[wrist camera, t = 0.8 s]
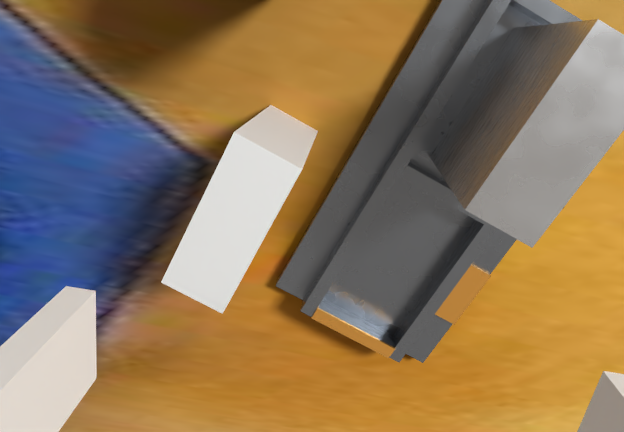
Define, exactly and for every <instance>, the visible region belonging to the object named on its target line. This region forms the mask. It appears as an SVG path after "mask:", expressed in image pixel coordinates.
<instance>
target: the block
mask: <svg viewBox="0 0 624 432" xmlns="http://www.w3.org/2000/svg"><path fill="white" fill-rule="evenodd" d="M317 132H318V131H317V130H315V129H313V128H311V127H310V126H308V125H306V124H304V123H302V122H301V121H299V120H297V119H295V118H294V117H292V116H290V115H288V114H286V113H285V112H283V111H281V110H279V109H277V108H276V107H274V106H272V105H270V106H269V107H267V108H266V109H264V110H263V111H262V112H260V113H259V114H258V115H256V116H255V117H254V118H252V119H251V120H250V121H248V122H247V123H245V124H244V125H243V126H241V127H240V128H239V129H237V130H236V131H235V132H234V133H233V135H232V137H231V139H230V141H229V143H228V145H227V147H226V149H225V151H224V154H223V156H222V158H221V160H220V162H219V164H218V166H217V168H216V170H215V172H214V174H213V176H212V178H211V180H210V182H209V184H208V187H207V189H206V191H205V193H204V195H203V197H202V199H201V201H200V203H199V205H198V207H197V209H196V211H195V213H194V215H193V217H192V219H191V222H190V224H189V226H188V228H187V230H186V232H185V234H184V236H183V238H182V240H181V242H180V244H179V246H178V248H177V250H176V252H175V255H174V257H173V259H172V261H171V263H170V265H169V267H168V269H167V271H166V273H165V275H164V277H163V279H162V281H161V283H163V284H165V285H167V286H169V287H171V288H173V289H175V290H177V291H179V292H181V293H183V294H185V295H187V296H189V297H191V298H193V299H195V300H197V301H199V302H201V303H202V304H204V305H206V306H208V307H210V308H212V309H214V310H216V311H218V312H220V313H222V314H223V312H224V310H225V308H226V306H227V305H228V303H229V301H230V299H231V297H232V296H233V294H234V292H235V290H236V288H237V287H238V285H239V283H240V281H241V279H242V277H243V276H244V274H245V272H246V270H247V268H248V267H249V265H250V263H251V261H252V259H253V258H254V256H255V254H256V252H257V250H258V249H259V247H260V245H261V243H262V241H263V239H264V238H265V236H266V234H267V232H268V230H269V229H270V227H271V225H272V223H273V221H274V220H275V218H276V216H277V214H278V212H279V210H280V209H281V207H282V205H283V203H284V201H285V200H286V198H287V196H288V194H289V192H290V191H291V189H292V187H293V185H294V183H295V181H296V180H297V178H298V176H299V174H300V172H301V171H302V169H303V166H304V164H305V161H306V159H307V156H308V154H309V152H310V149H311V147H312V144H313V142H314V140H315V137H316V135H317Z"/></svg>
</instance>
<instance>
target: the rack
mask: <svg viewBox="0 0 624 432" xmlns="http://www.w3.org/2000/svg"><path fill="white" fill-rule="evenodd" d="M623 130H624V35H623V34H621V33H620V32H618V31H616V30H615V29H613V28H611V27H610V26H608V25H607V24H605V23H603V22H602V21H600V20H598V19H596V20H586V21H582V20H580V19H579V18H577V17H576V16H574V15H572V14H571V13H569V12H567V11H566V10H564V9H563V8H561V7H559V6H558V5H556V4H554V3H553V2H551V1H549V0H440V2H439V3H438V5H437V7H436V9H435V10H434V12H433V14H432V15H431V17H430V19H429V21H428V22H427V24H426V26H425V27H424V29H423V31H422V33H421V34H420V36H419V38H418V39H417V41H416V43H415V45H414V46H413V48H412V50H411V51H410V53H409V55H408V57H407V58H406V60H405V62H404V63H403V65H402V67H401V69H400V70H399V72H398V74H397V76H396V77H395V79H394V81H393V82H392V84H391V86H390V88H389V89H388V91H387V93H386V94H385V96H384V98H383V100H382V101H381V103H380V105H379V106H378V108H377V110H376V112H375V113H374V115H373V117H372V118H371V120H370V122H369V124H368V125H367V127H366V129H365V130H364V132H363V134H362V136H361V137H360V139H359V141H358V142H357V144H356V146H355V148H354V149H353V151H352V153H351V154H350V156H349V158H348V160H347V161H346V163H345V165H344V166H343V168H342V170H341V172H340V173H339V175H338V177H337V179H336V180H335V182H334V184H333V185H332V187H331V189H330V191H329V192H328V194H327V196H326V197H325V199H324V201H323V203H322V204H321V206H320V208H319V209H318V211H317V213H316V215H315V216H314V218H313V220H312V221H311V223H310V225H309V227H308V228H307V230H306V232H305V233H304V235H303V237H302V239H301V240H300V242H299V244H298V245H297V247H296V249H295V251H294V252H293V254H292V256H291V257H290V259H289V261H288V263H287V264H286V266H285V268H284V270H283V271H282V273H281V275H280V276H279V278H278V280H277V283H276V286H277V287H279V288H280V289H282V290H284V291H286V292H288V293H290V294H292V295H294V296H296V297H298V298H300V299H302V300H303V301H302V306H301V312H303V313H305V314H307V315H309V316H311V318H312V319H314V320H316V321H317V322H319V323H321V324H323V325H325V326H327V327H329V328H331V329H333V330H335V331H337V332H339V333H341V334H343V335H344V336H346V337H348V338H350V339H352V340H354V341H356V342H358V343H360V344H362V345H364V346H366V347H368V348H370V349H371V350H373V351H375V352H377V353H379V354H381V355H383V356H385V357H387V358H389V357H390V358H392V359H393V360H395V361H397V362H400V361H401V359H402V358H403V357H404V355H405V354H407V355H409V356H411V357H413V358H415V359H417V360H419V361H421V362H422V363H423V362H424V361H425V359H426V358H427V357H428V356H429V354H430V353H431V352H432V350H433V349H434V348H435V346H436V345H437V344H438V342H439V341H440V340H441V338H442V337H443V336H444V334H445V333H446V332H447V330H448V329H449V328H450V327H451V325H452V324H455V323H456V322H457V320H458V319H459V318H460V316H461V315H462V314H463V312H464V311H465V310H466V308H467V307H468V306H469V304H470V303H471V302H472V300H473V299H474V298H475V297H476V295H477V294H478V293H479V291H480V290H481V289H482V287H483V286H484V285H485V283H486V282H487V281H488V279H489V278H490V277H491V275H490V274H491V272H492V271H493V270H494V268H495V267H496V266H497V264H498V263H499V262H500V261H501V259H502V258H503V257H504V255H505V254H506V253H507V251H508V250H509V249H510V247H511V246H512V245H513V243H514V242H515V241H516V239H518V240H519V241H521V242H523V243H525V244H527V245H528V246H530V247H533V246H534V245H535V243H536V242H537V241H538V240H539V238H540V237H541V236H542V234H543V233H544V232H545V231H546V229H547V228H548V227H549V225H550V224H551V223H552V222H553V220H554V219H555V218H556V216H557V215H558V214H559V213H560V211H561V210H562V209H563V207H564V206H565V205H566V204H567V202H568V201H569V200H570V198H571V197H572V196H573V195H574V193H575V192H576V191H577V189H578V188H579V187H580V185H581V184H582V183H583V182H584V180H585V179H586V178H587V176H588V175H589V174H590V173H591V171H592V170H593V169H594V167H595V166H596V165H597V164H598V162H599V161H600V160H601V158H602V157H603V156H604V155H605V153H606V152H607V151H608V149H609V148H610V147H611V146H612V144H613V143H614V142H615V140H616V139H617V138H618V137H619V135H620V134H621V133H622V131H623Z"/></svg>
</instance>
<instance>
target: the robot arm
mask: <svg viewBox="0 0 624 432" xmlns="http://www.w3.org/2000/svg"><path fill="white" fill-rule="evenodd" d="M96 378H97V376H96V291H93V290H87V289H80V288H74V287H68V286H66V287H65V288H64V289H63V290H61V291H60V292H59V293H58V294H57V295H56V296H55V297H54V298H53V299H52V300H51V301H49V302H48V303H47V304H46V305H45V306H44V307H43V308H42V309H41V310H40V311H39V312H37V313H36V314H35V315H34V316H33V317H32V318H31V319H30V320H29V321H28V322H27V323H25V324H24V325H23V326H22V327H21V328H20V329H19V330H18V331H17V332H16V333H15V334H13V335H12V336H11V337H10V338H9V339H8V340H7V341H6V342H5V343H4V344H3V345H1V346H0V432H59V430H60V429H61V427H62V426H63V425H64V423H65V422H66V420H67V419H68V418H69V416H70V415H71V413H72V412H73V411H74V409H75V408H76V406H77V405H78V404H79V402H80V401H81V399H82V398H83V396H84V395H85V394H86V392H87V391H88V389H89V388H90V387H91V385H92V384H93V382H94V381H95V380H96ZM577 432H624V374H619V373H612V372H606V371H603V373H602V376H601V378H600V380H599V383H598V385H597V387H596V390H595V392H594V394H593V397H592V399H591V401H590V403H589V406H588V408H587V410H586V413H585V415H584V417H583V420H582V422H581V424H580V427H579V429H578V431H577Z"/></svg>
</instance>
